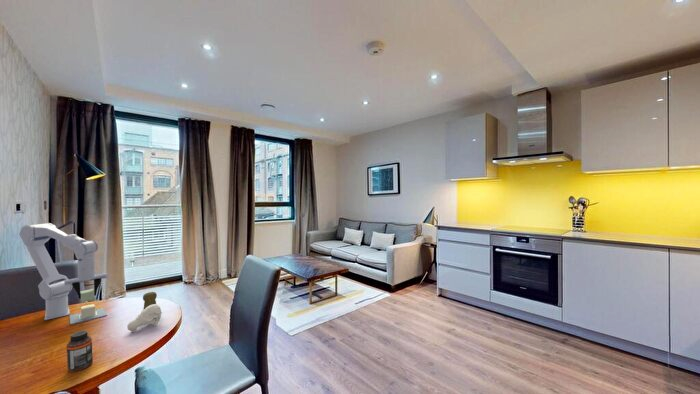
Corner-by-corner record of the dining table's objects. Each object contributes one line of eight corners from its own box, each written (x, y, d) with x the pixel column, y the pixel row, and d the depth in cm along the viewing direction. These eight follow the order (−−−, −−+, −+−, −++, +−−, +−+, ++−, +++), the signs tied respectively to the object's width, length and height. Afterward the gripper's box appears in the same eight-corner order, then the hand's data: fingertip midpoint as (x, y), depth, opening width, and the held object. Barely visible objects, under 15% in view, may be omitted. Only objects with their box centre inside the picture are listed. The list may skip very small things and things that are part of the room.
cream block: (81, 315, 130) (81, 306, 129) (94, 312, 133) (94, 303, 133) (81, 318, 126) (81, 309, 126) (95, 315, 130) (94, 306, 129)
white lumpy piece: (162, 304, 121) (129, 317, 111) (164, 322, 122) (132, 337, 112) (155, 301, 124) (122, 313, 114) (157, 319, 125) (125, 333, 115)
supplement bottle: (70, 365, 93) (69, 331, 92) (94, 359, 96) (93, 326, 96) (64, 375, 88) (63, 339, 87) (90, 368, 91) (88, 334, 90)
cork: (150, 320, 125) (149, 295, 125) (138, 318, 126) (138, 294, 126) (161, 314, 131) (161, 290, 131) (150, 313, 132) (150, 290, 132)
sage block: (80, 299, 129) (80, 291, 129) (93, 297, 132) (93, 288, 132) (81, 302, 126) (80, 293, 126) (94, 299, 129) (94, 291, 129)
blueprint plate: (69, 316, 129) (69, 315, 129) (104, 308, 138) (104, 307, 138) (70, 324, 121) (70, 323, 121) (106, 315, 130) (106, 314, 130)
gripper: (64, 272, 121) (65, 303, 121) (108, 266, 131) (109, 294, 132) (64, 269, 126) (65, 299, 126) (106, 263, 136) (107, 290, 137)
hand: (87, 296), depth 129 cm, fingers closed on sage block, 4 cm apart
